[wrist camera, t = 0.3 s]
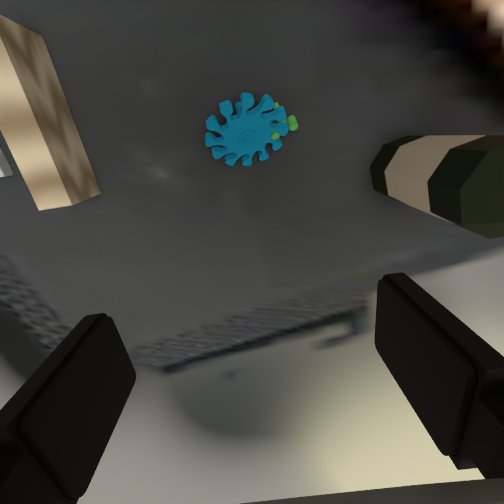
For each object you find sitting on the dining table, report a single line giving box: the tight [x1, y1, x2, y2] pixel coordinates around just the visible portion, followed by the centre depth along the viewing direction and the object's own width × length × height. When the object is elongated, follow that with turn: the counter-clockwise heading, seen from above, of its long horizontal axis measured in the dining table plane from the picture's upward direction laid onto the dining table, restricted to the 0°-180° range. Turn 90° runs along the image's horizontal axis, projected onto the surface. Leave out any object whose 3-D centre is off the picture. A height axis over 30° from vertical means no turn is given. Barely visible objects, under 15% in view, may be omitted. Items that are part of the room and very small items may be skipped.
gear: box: [205, 93, 298, 166], centre depth 32 cm, size 11×6×10 cm
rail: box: [0, 15, 101, 210], centre depth 30 cm, size 18×4×7 cm, turn 8°
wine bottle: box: [370, 135, 504, 239], centre depth 23 cm, size 8×8×30 cm
